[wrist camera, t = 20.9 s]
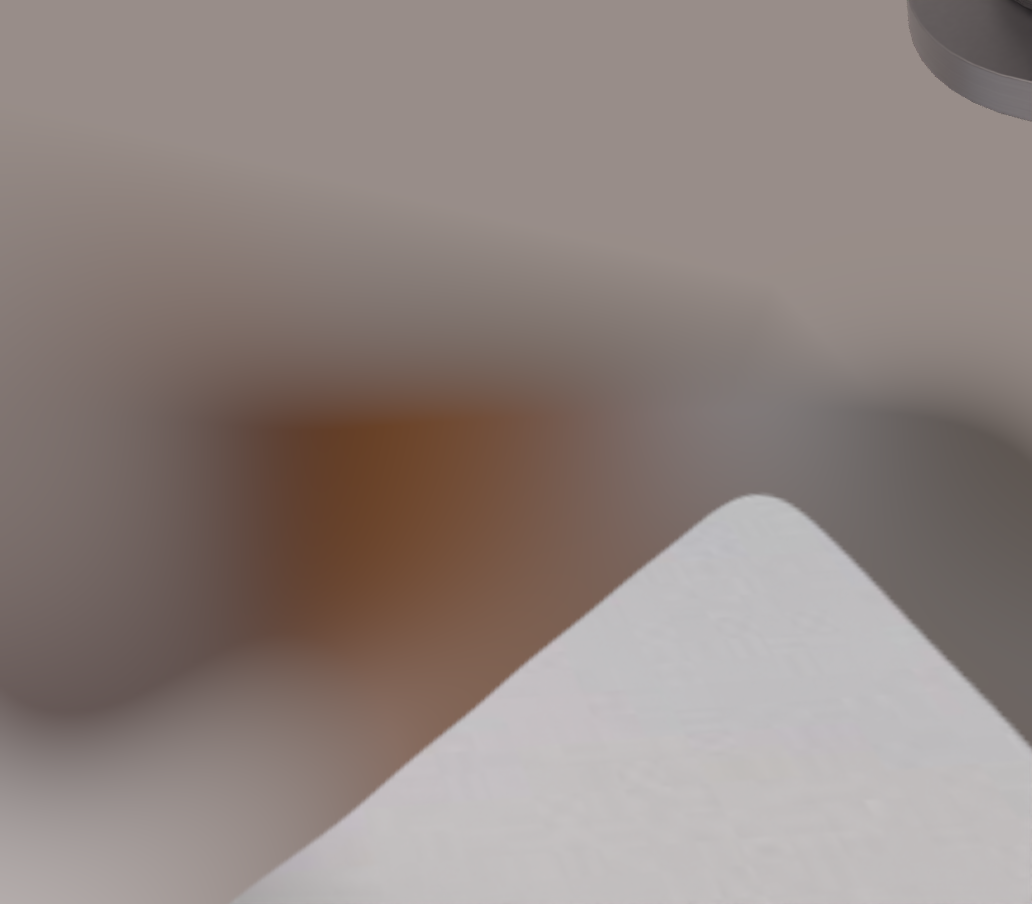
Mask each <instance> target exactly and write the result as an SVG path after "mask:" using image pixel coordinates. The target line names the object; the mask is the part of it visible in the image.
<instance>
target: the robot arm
mask: <svg viewBox="0 0 1032 904" xmlns="http://www.w3.org/2000/svg"><path fill="white" fill-rule="evenodd" d="M1015 1H1016V2H1018V3H1019V4H1021V5H1023V6H1024V7H1026V8H1029V9H1031V10H1032V0H1015Z"/></svg>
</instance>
